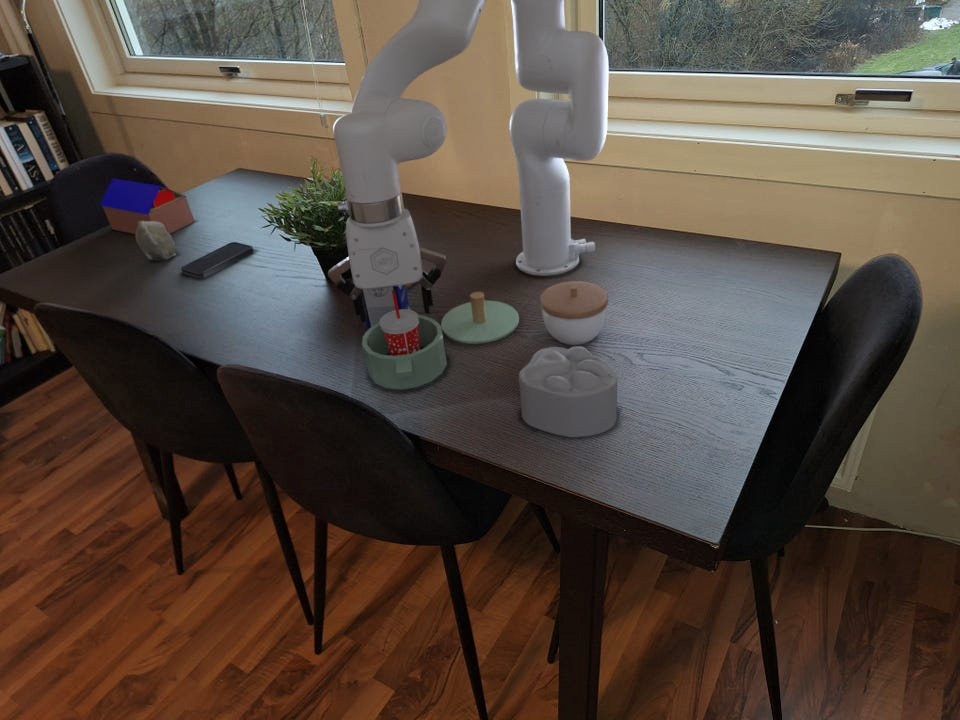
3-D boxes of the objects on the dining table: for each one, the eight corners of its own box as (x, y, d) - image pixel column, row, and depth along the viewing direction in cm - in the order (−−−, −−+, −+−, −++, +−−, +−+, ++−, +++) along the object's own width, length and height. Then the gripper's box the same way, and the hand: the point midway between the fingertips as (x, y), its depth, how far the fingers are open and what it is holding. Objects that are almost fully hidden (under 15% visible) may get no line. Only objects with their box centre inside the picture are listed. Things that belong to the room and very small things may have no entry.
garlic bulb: (167, 272, 153) (147, 242, 144) (136, 265, 154) (115, 234, 146) (189, 245, 158) (172, 213, 149) (160, 237, 159) (141, 206, 151)
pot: (443, 333, 114) (438, 302, 111) (451, 395, 100) (445, 361, 96) (371, 343, 114) (364, 312, 110) (368, 407, 99) (360, 374, 96)
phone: (254, 246, 151) (200, 274, 141) (255, 251, 152) (201, 279, 142) (232, 241, 155) (178, 268, 145) (234, 245, 156) (180, 272, 146)
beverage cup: (421, 352, 110) (408, 277, 102) (431, 371, 105) (417, 294, 97) (386, 361, 108) (369, 286, 101) (393, 381, 104) (377, 304, 96)
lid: (512, 301, 121) (510, 271, 118) (525, 340, 110) (523, 309, 107) (439, 311, 121) (435, 282, 118) (444, 352, 110) (439, 320, 106)
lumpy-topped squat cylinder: (544, 381, 100) (542, 333, 95) (627, 401, 94) (629, 351, 90) (514, 422, 93) (510, 373, 88) (601, 447, 87) (602, 395, 82)
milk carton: (375, 314, 122) (352, 213, 111) (410, 312, 122) (392, 209, 110) (368, 335, 116) (344, 230, 105) (405, 332, 116) (385, 227, 105)
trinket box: (591, 361, 103) (591, 310, 98) (531, 346, 109) (528, 296, 103) (617, 328, 111) (618, 278, 105) (560, 315, 116) (558, 267, 110)
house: (158, 239, 164) (139, 194, 157) (110, 229, 173) (91, 186, 167) (196, 221, 172) (180, 177, 165) (149, 212, 181) (132, 170, 175)
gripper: (311, 224, 88) (337, 333, 97) (440, 208, 88) (453, 318, 98) (316, 205, 94) (341, 309, 103) (436, 190, 95) (450, 295, 104)
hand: (395, 313), depth 101 cm, fingers open, 9 cm apart
